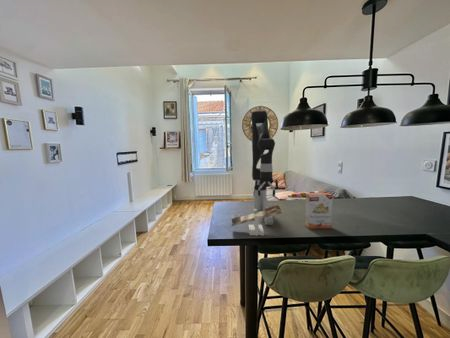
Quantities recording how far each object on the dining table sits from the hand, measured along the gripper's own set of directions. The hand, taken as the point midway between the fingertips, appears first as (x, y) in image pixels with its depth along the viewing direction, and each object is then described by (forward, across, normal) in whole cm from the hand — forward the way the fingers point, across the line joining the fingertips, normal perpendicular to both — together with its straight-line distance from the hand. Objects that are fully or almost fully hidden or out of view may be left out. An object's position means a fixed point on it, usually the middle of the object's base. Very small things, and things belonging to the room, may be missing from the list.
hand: (266, 195), depth 137 cm
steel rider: (+18, -1, -2) cm, 19 cm away
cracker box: (+19, -31, +4) cm, 36 cm away
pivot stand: (+18, +7, +12) cm, 23 cm away
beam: (+9, +7, +12) cm, 17 cm away
